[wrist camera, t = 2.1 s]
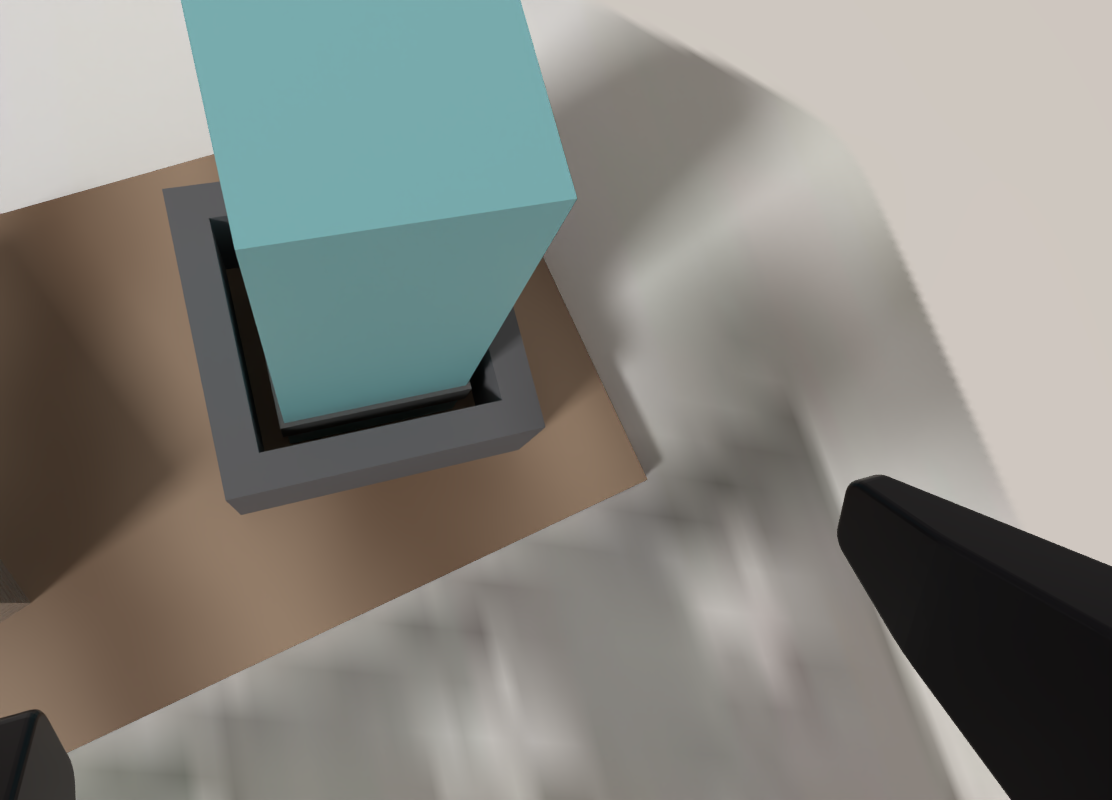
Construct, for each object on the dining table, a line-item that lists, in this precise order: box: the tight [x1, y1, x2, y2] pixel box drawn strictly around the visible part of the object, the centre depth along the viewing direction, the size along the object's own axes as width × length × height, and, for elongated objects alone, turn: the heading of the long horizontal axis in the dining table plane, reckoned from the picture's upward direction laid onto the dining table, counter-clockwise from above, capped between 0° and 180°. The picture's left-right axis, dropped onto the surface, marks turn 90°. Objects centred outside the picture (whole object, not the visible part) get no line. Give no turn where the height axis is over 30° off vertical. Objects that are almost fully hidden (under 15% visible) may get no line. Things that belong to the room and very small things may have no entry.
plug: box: [181, 0, 577, 444], centre depth 16 cm, size 4×4×12 cm
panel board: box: [0, 154, 647, 753], centre depth 20 cm, size 24×12×1 cm, turn 116°
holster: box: [162, 182, 545, 515], centre depth 20 cm, size 7×7×3 cm
